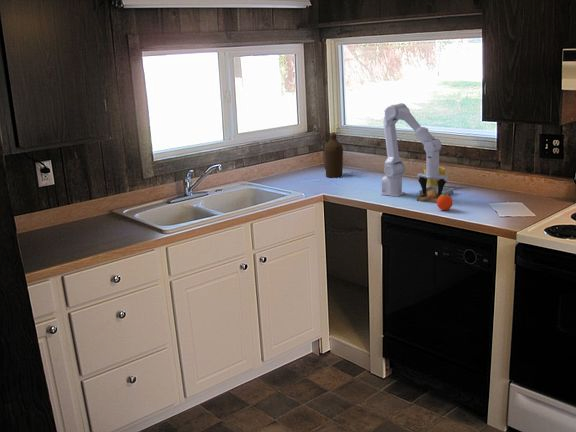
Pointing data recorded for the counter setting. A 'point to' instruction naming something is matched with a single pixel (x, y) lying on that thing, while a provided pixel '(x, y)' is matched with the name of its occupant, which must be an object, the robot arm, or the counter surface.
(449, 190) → the dish
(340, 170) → the olive oil
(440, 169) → the plant pot
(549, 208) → the counter surface
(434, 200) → the tray
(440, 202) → the clementine
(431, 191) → the ball
